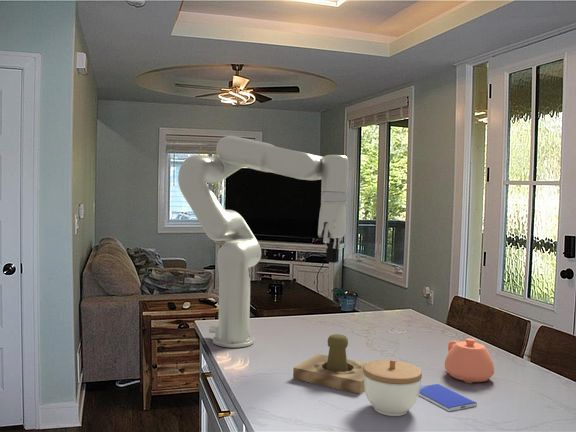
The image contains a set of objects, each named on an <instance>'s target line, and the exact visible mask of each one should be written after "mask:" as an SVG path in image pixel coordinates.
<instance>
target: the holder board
mask: <svg viewBox="0 0 576 432" xmlns="http://www.w3.org/2000/svg"><path fill="white" fill-rule="evenodd" d="M327 361H328V354H327V355H326V354H321V353H317V354H314V355H313V356H311V357H310V358H308V359H306V360H304V361H303V362H300V363H299V364H297V365H296V366H294V367H293V372H292V373H293V375H292V379H293V380H295V381H298V380H300V381H299V382H303V381H305V382H304V383H307V382H310V383H309V384H312V383H314V384H313V385H317V384H319V385H318V386H321V385H323V386H322V387H326V386H327V388H331V387H332V389H335V388H336V390H341V391H346V392H348V393H349V392H350V393H355V394H358V395H359V394H360V395H362V394H363V393H364V392H365V390H364V373H363V367H364V365H365V364H366V363H367V362H364V361H363V362H362V361H359V360H353V359H348V358H347V368H348V371H346V372H334V371H329V370H326V367H327Z"/></svg>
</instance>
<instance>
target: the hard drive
mask: <svg viewBox="0 0 576 432" xmlns="http://www.w3.org/2000/svg"><path fill="white" fill-rule="evenodd" d="M419 396H420V397H421V398H423V399H425V400H427V401H429V402H431V403H433V404H434V405H437V406H438V407H440V408H442V409H444V410H446V411H447V412H453V411H458V410H463V409H464V410H465V409H467V408H474V407H477V405H478V402H476V401H474V400H472V399H469V397H466V396H464V395H463V394H460V393H458V392H456V391H454V390H452V389H449V388H447V387H446V386H444V385H441V384H440V383H435V384H429V385H428V384H427V385H424V386H422V385H421V387H420V393H419ZM419 396H418V397H419Z"/></svg>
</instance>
